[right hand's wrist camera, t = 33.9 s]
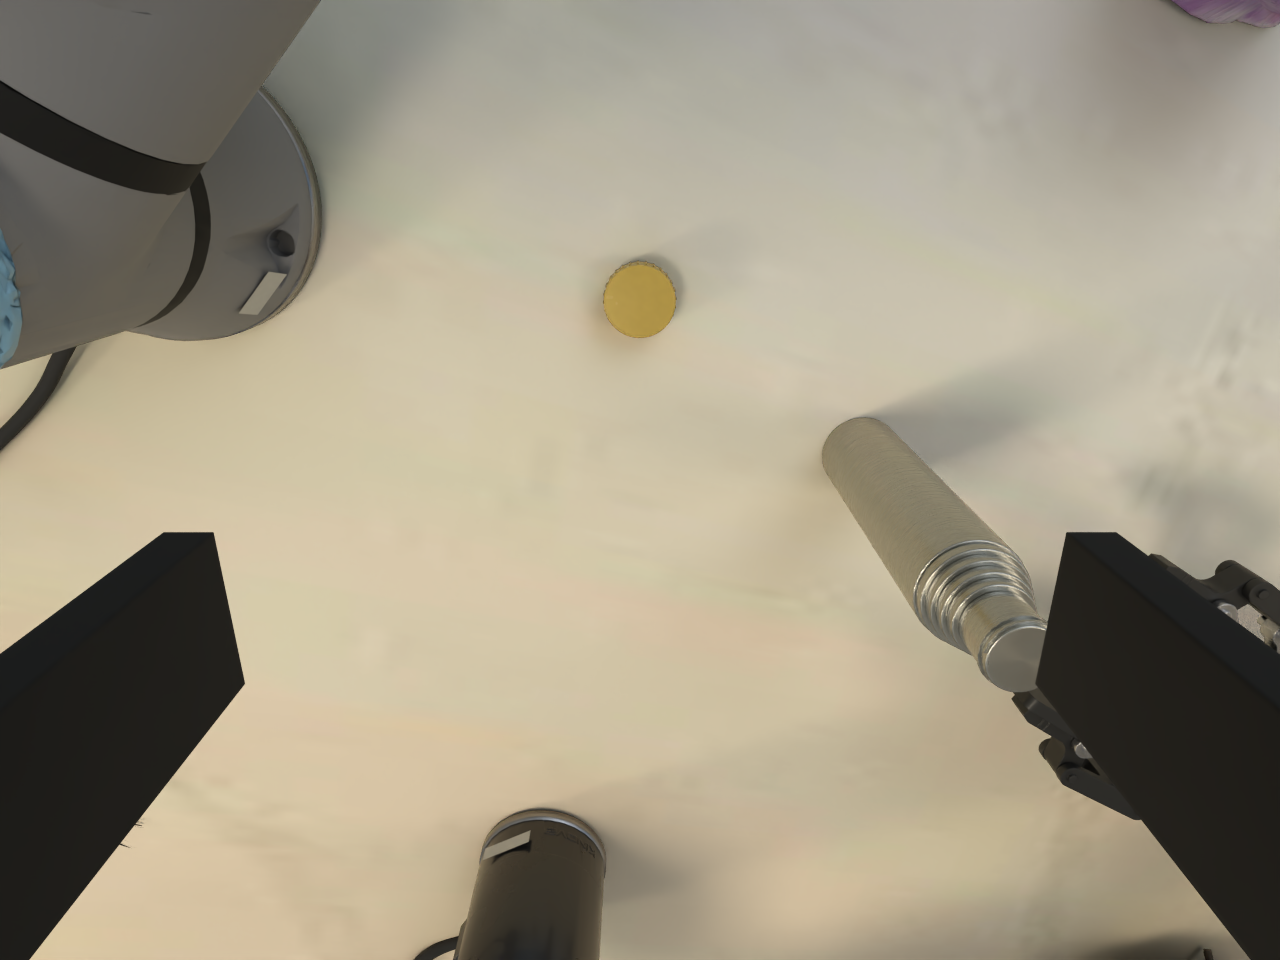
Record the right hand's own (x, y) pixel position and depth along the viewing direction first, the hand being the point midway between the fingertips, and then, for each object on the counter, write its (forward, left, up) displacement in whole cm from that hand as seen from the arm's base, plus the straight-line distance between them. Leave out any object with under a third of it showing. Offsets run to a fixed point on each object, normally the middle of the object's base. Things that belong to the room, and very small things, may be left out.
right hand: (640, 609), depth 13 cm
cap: (0, 0, -34) cm, 34 cm away
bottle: (+8, -14, -35) cm, 39 cm away
